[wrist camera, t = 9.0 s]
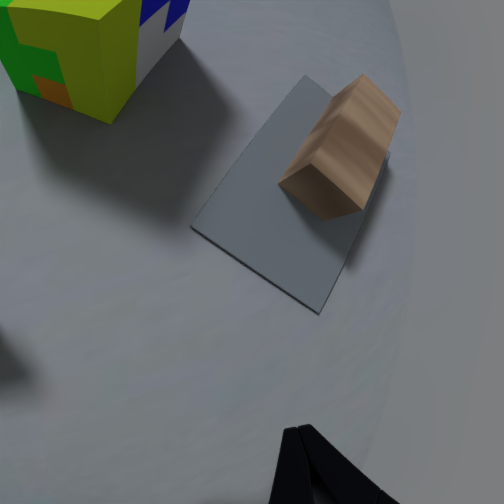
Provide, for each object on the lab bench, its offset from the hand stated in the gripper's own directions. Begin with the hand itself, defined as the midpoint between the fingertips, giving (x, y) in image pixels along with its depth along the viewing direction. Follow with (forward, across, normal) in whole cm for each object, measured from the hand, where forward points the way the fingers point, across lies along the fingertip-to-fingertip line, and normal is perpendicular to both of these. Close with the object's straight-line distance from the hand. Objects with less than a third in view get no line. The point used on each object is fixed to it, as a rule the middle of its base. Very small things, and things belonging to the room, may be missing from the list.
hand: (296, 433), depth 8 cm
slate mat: (+16, -6, -6) cm, 18 cm away
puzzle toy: (+16, +10, -18) cm, 26 cm away
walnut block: (+13, -5, -5) cm, 15 cm away
